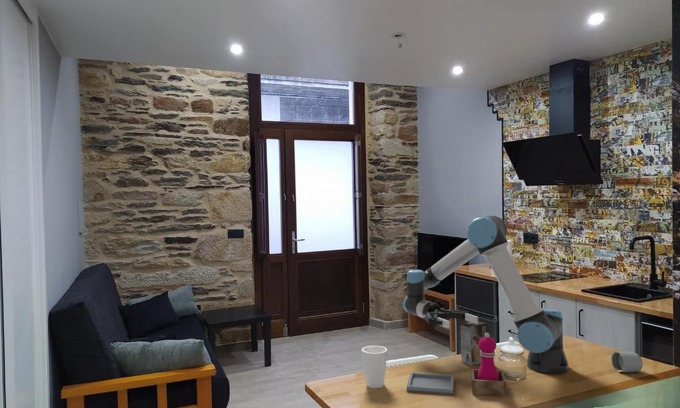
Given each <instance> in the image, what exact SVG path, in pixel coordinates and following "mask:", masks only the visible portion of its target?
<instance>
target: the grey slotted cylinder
mask: <svg viewBox="0 0 680 408" xmlns="http://www.w3.org/2000/svg"><path fill="white" fill-rule="evenodd" d="M610 361H611V366H612V367H613V370H614V371H616V370H622V371H620V372H623V373H637V372H640V371H641V370H642V368H643V364H644V363H643V360H642V357H641V356H640V354H638V353H636V352H634V351H617V350H616V351H614V352H612V354H611V360H610Z"/></svg>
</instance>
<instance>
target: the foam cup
mask: <svg viewBox="0 0 680 408" xmlns="http://www.w3.org/2000/svg"><path fill="white" fill-rule="evenodd" d="M387 357H388V348H387V347H385V346H382V345H367V346H364V347H362V348H361V358H362V365H363V370H364V376H365V377H364V378H365V382H366V383H365V384H366V387H367V388H372V389H379V388H383V387H384V385H385V378H386V368H387V367H386V366H387Z"/></svg>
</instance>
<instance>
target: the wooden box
mask: <svg viewBox="0 0 680 408" xmlns="http://www.w3.org/2000/svg"><path fill="white" fill-rule="evenodd" d="M496 370H497V369H496ZM478 371H479V369H478V368H471V390H472V392H471V393H472V396H473V395H475V396H486V397H487V396H488V397H489V396H490V397H498V398H499V397H500V398H501V397H502V398H507V380H506V376H505V372H504V370H497V372H498V375H499V381H492V380H478Z"/></svg>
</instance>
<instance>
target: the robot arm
mask: <svg viewBox="0 0 680 408" xmlns="http://www.w3.org/2000/svg"><path fill="white" fill-rule="evenodd" d="M507 235H508V225H507V223H506V221H505V220H504V219H502V218H501V217H499V216H497V215H489V216H480V217H476V218H474V219H473V220H472V221H470V223H469V224H468V226H467V230H466V237H467V239H466V240H464V241H463V242H462V243H460V244H459V245H458V246H456V247H455V248H454V249H452V250H451V251H450V252H449V253H448V254H446V255H445V256H443V257H442V258H440V260H438V261H437V262H436V263H434V264H433V265H432V266H431V267H429V268H428V269H426V270H425V271H424V270H422V269H410V270H408V271H407V273H406V275H407V276H406V295H407V296H405V298H403V301H402V308H403V310H404V311H405V312H406V313H408V314H410V315H413V316H416V317H419V318H422V319H423V320H424V321H426V323H427V324H428V325H430V326H432V324H433V327H437V326H440V327H442V328H445V329H447V330H450V329H451V328H450V327H451V325H450V324H451V321H450V320H451V319H456V320H457V319H458V320H465V321H466V322H472V323H475V324H478V321H479V317H478V316H476V315H473V314H471V311H468V310H466V311H464V310H457V309H453V308H448V309H444V308H442V307H441V306H440V305H439V304H438V303H436V302H432V301H429V300H427V299H426V300H425V294H426V293H425V291H426V290H427V289H430V288H434V287H436V286H437V285H439V283H440V282H442V280H444V279H445V278H446V277H448V276H449V275H451V274H452V273H453V272H455V271H456V270H458V269H459V268H461V267H462V266H464V265H465V264H466V263H468V262H469V261H470V260H471V259H473V258H474V257H476V256H477V255H478V254H479V255H480V256H482V257H485V258H486V260H487V262H488V264H489V265H490V268H491V270H492V271H493V274H494V276H495V278H496V280H497V282H498V284H499V286H500V288H501V289H502V292H503V294H504V296H505V298H506V300H507V301H508V303H509V305H510V308H511V309H512V312H513V313H514V318H513V320H512V321H513V323H514V324H515V327H516V329H517V339H518V342H519V343H520V345H521V346H522V347H523V348H524V349H525V350H527V351H528V354H527V359H526V366H527V367H528V368H529V369H530V370H533V371H536V372H538V373H543V374H544V373H545V374H550V375H553V374H557V375H558V374H564V373H566V372H567V373H568V371H570V370H569V362H568V358H567V355H566V353H565V351H564V333H563V331H564V330H563V329H564V328H563V327H564V324H563V320H564V318H563V313H562V311H560V310H559V309H552V308H542V307H540V306H537V304H536V302H535V300H534V298H533V296H532V294H531V293H530V290H529V289H528V286H527V285H526V283H525V281H524V279H523V277H522V275H521V272H520V271H519V269H518V268H517V264H516V263H515V261H514V260H513V257H512V256H511V254H510V252H509V250H508V245H509V241H508V239H507Z"/></svg>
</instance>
